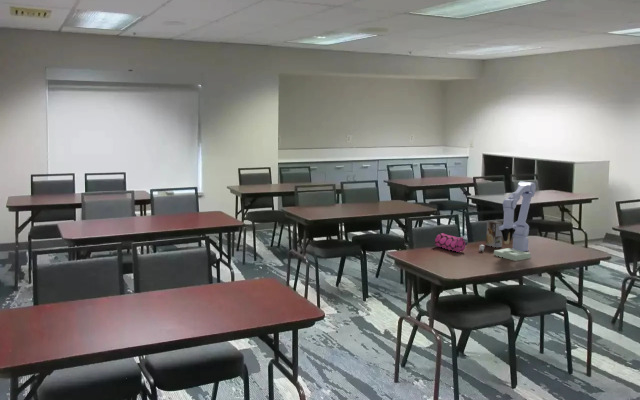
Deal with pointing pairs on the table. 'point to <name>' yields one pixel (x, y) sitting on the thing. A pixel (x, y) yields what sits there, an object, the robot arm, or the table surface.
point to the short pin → (481, 248)
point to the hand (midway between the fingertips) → (507, 240)
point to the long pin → (507, 239)
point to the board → (512, 254)
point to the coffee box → (494, 234)
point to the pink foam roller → (450, 242)
